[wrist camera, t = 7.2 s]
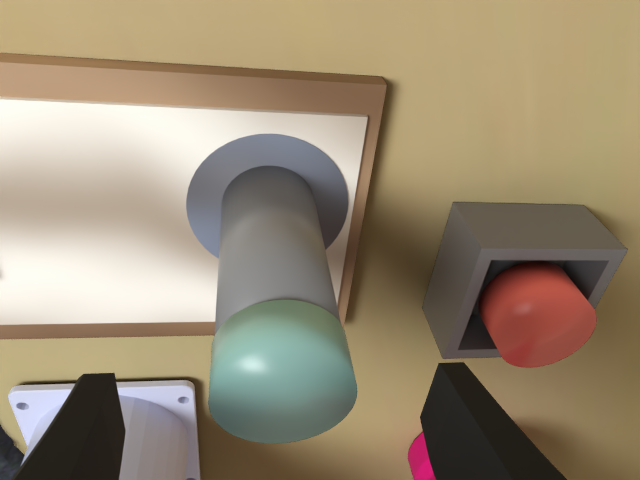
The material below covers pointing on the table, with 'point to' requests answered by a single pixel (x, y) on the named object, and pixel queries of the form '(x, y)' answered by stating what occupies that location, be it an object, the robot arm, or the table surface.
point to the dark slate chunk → (9, 457)
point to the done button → (536, 314)
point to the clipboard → (160, 184)
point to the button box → (510, 263)
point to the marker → (276, 316)
